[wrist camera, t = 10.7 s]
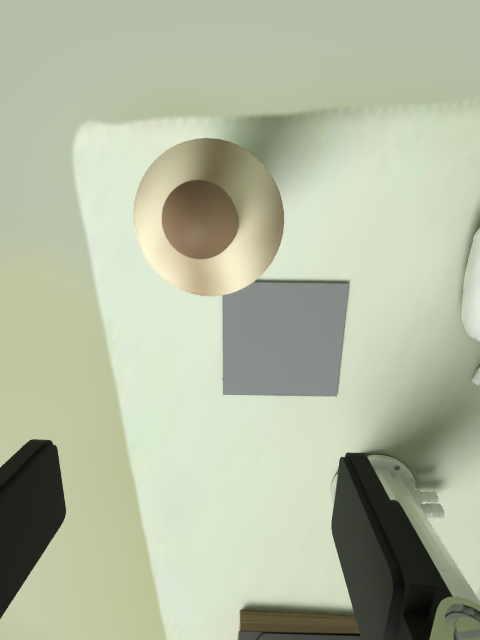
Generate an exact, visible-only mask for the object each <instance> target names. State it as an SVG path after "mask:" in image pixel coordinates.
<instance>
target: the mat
mask: <svg viewBox="0 0 480 640" xmlns="http://www.w3.org/2000/svg"><path fill="white" fill-rule="evenodd" d="M348 288H349V283H303V282H253V283H251V284H250V285H248V286H247V287H245V288H243V289H241V290H239V291H236V292H233V293H230V294H226V295H223V395H276V396H337V389H338V380H339V371H340V362H341V352H342V343H343V334H344V325H345V315H346V306H347V297H348Z"/></svg>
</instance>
